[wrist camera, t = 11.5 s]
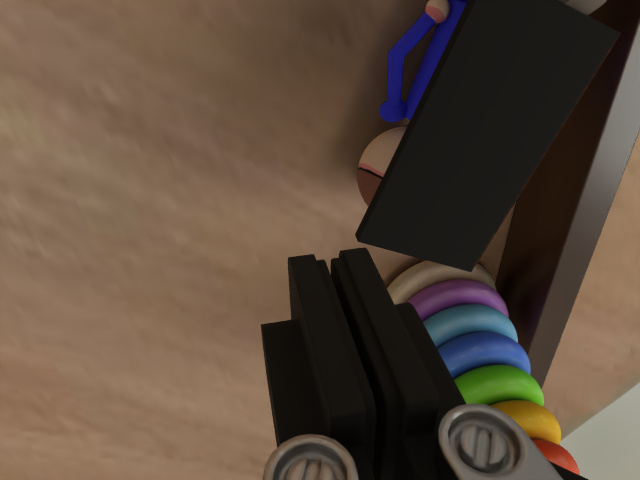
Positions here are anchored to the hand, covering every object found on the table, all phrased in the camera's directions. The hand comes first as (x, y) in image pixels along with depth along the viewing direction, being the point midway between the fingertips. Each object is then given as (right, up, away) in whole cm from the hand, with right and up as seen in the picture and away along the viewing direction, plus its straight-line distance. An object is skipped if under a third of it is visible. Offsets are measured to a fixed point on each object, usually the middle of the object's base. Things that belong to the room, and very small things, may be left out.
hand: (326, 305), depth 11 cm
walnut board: (+13, +3, +20) cm, 24 cm away
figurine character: (+6, +10, +14) cm, 18 cm away
